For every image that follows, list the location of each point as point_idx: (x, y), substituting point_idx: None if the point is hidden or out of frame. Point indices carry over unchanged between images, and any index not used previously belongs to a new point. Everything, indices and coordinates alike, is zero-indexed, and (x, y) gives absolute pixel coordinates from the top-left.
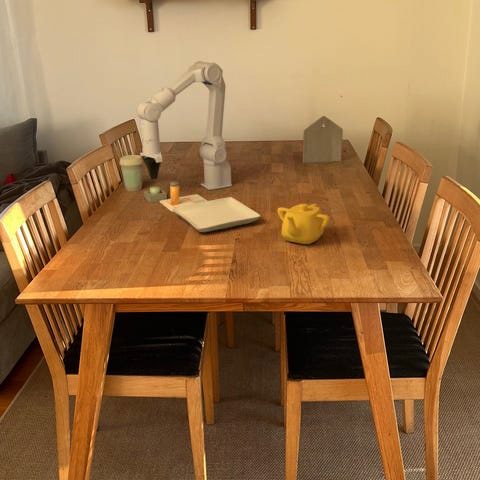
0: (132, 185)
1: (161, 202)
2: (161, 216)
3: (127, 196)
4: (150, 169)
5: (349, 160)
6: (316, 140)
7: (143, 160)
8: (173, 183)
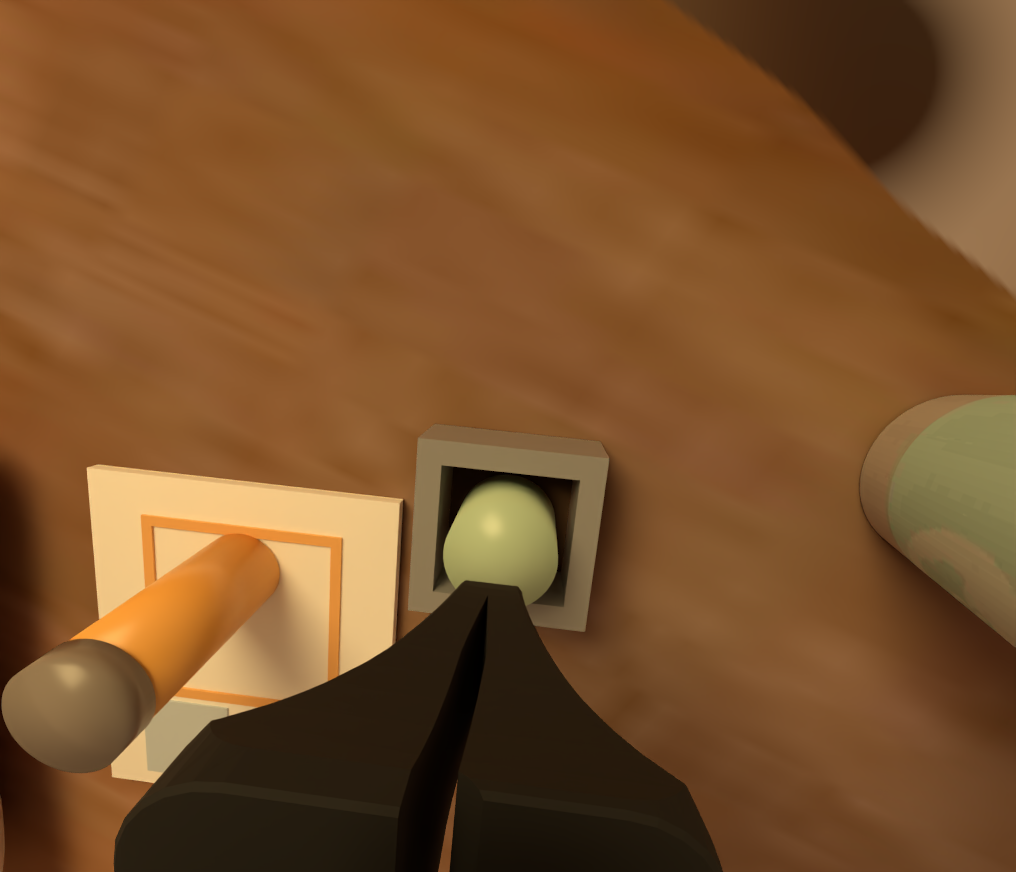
0: (921, 450)
1: (351, 497)
2: (39, 341)
3: (769, 323)
4: (379, 664)
5: None
6: None
7: (652, 779)
8: (10, 685)
